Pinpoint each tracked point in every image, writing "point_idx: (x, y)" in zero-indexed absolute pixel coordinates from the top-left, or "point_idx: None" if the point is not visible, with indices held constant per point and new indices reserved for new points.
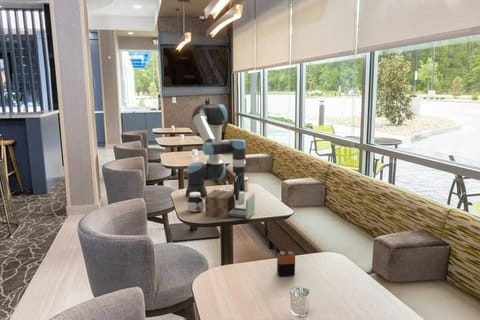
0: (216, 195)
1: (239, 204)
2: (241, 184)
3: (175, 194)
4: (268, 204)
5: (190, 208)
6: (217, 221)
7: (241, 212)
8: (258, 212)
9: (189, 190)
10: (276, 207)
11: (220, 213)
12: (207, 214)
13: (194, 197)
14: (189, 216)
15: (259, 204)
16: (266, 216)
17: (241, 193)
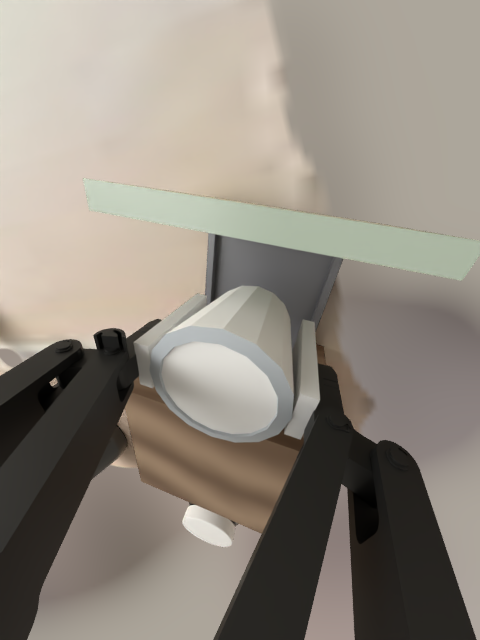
0: (251, 499)
1: (313, 326)
2: (70, 467)
3: (115, 465)
4: (30, 118)
5: None
6: (361, 388)
7: (260, 283)
8: (191, 167)
9: (104, 468)
10: (46, 14)
11: None
12: None
13: (234, 522)
14: None
15: (61, 189)
16: (268, 61)
17: (252, 372)
